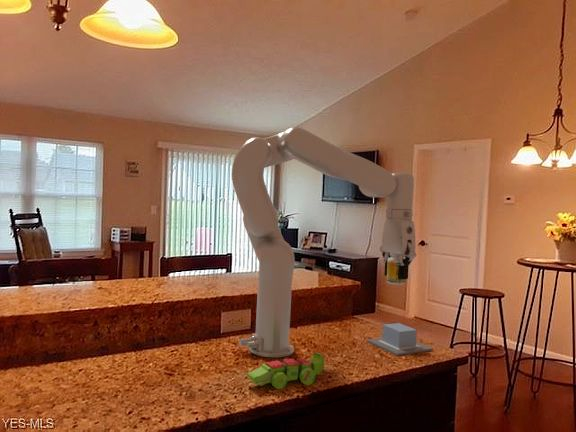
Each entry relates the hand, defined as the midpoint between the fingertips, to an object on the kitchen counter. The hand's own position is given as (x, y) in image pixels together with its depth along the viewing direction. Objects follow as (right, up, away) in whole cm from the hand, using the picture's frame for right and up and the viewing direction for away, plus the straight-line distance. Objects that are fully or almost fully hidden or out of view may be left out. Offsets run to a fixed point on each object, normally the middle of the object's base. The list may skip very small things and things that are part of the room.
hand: (395, 276), depth 141 cm
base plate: (+2, -22, +6) cm, 23 cm away
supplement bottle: (0, -2, 0) cm, 2 cm away
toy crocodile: (-32, -22, -27) cm, 47 cm away
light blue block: (+2, -21, +6) cm, 22 cm away
